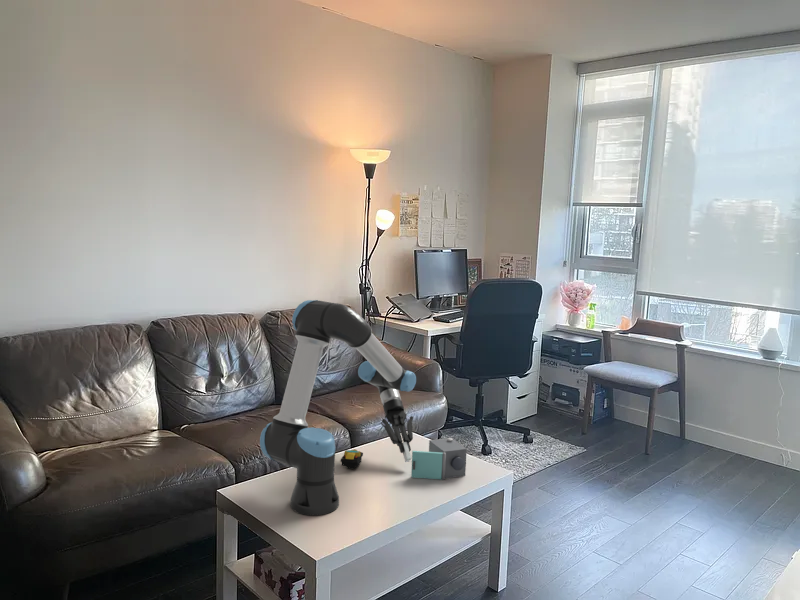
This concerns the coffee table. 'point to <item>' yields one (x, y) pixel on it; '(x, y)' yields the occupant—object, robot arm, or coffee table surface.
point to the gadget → (351, 458)
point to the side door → (428, 465)
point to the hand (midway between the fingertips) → (408, 460)
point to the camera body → (451, 456)
